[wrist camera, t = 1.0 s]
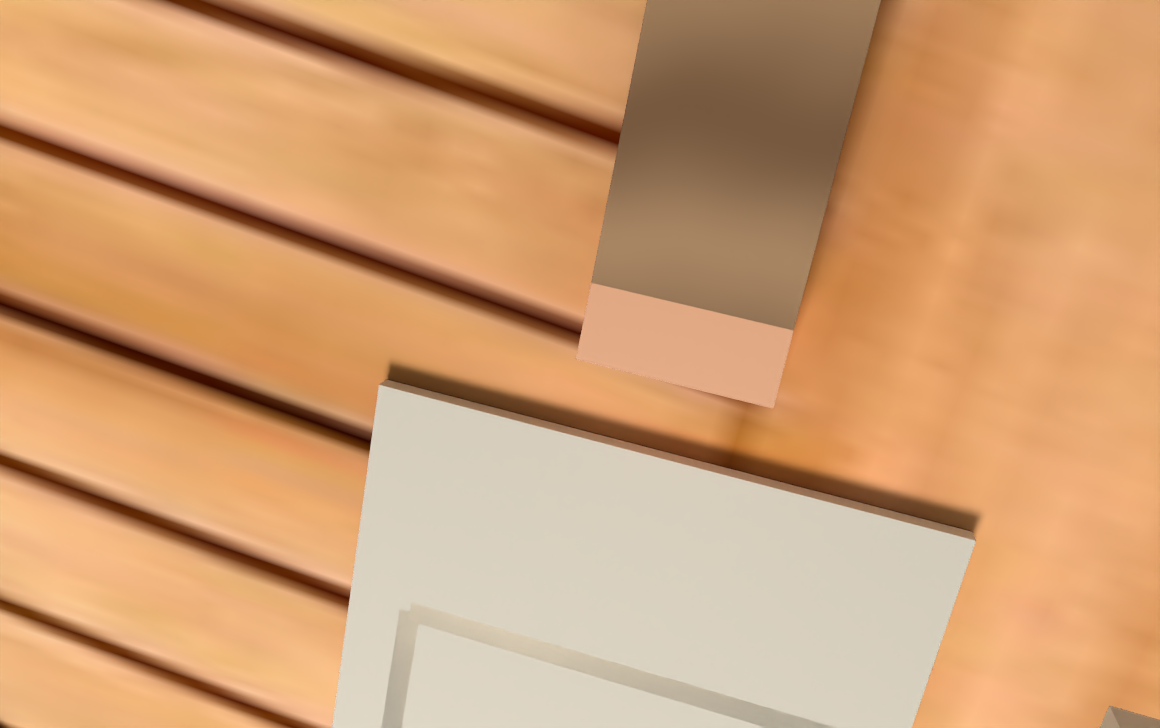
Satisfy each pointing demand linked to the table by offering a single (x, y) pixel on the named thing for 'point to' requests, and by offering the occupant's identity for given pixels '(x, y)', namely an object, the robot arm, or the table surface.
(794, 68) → the walnut block
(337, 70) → the table surface
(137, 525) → the table surface
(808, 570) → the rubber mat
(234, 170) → the table surface
